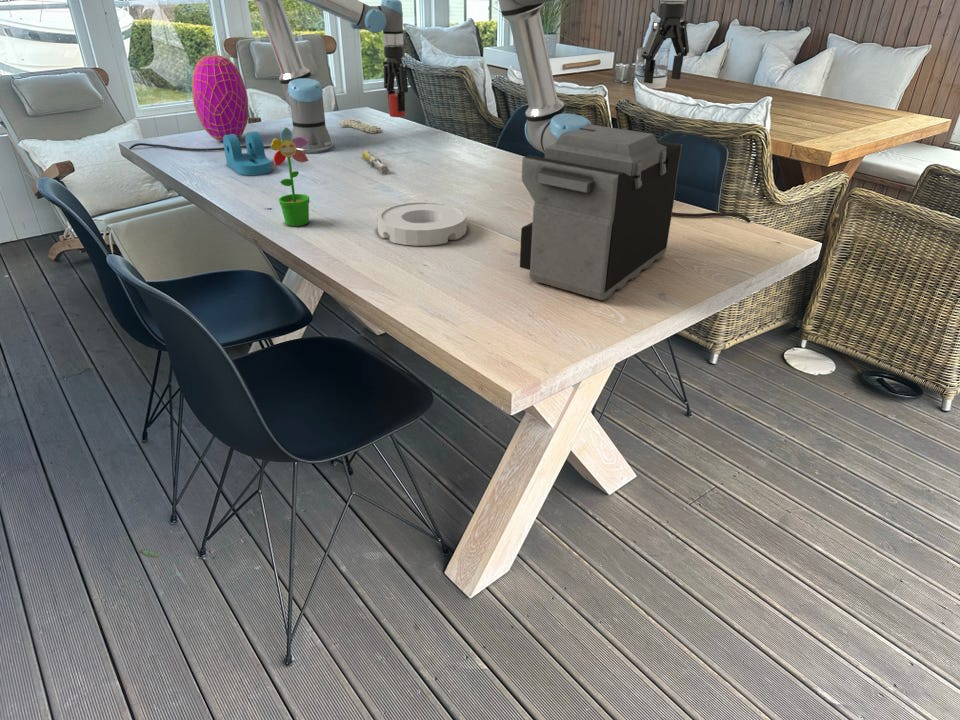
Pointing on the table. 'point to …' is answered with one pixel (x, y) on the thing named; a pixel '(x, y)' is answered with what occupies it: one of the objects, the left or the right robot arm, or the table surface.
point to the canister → (394, 106)
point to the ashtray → (422, 223)
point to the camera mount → (246, 154)
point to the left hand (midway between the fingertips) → (396, 109)
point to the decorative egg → (219, 97)
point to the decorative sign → (360, 126)
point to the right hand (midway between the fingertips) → (661, 81)
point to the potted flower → (291, 178)
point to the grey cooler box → (598, 208)
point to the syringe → (375, 161)
